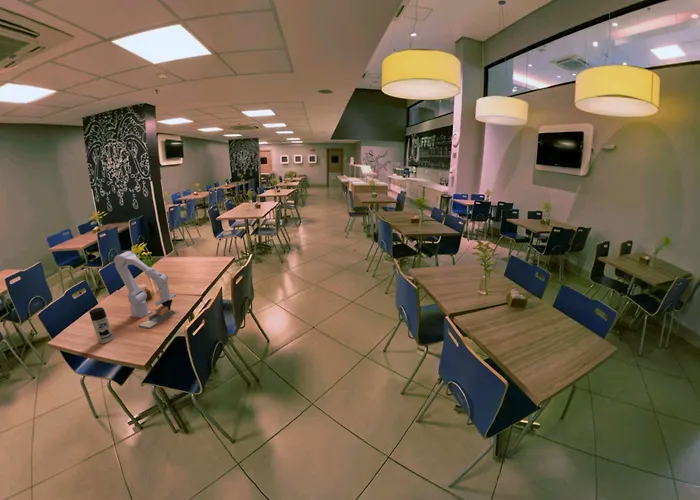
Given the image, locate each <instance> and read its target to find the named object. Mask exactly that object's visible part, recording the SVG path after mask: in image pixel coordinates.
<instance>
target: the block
mask: <svg viewBox="0 0 700 500" xmlns="http://www.w3.org/2000/svg"><path fill="white" fill-rule="evenodd" d="M167 312H169V310H168V307H167V306H163V305H159V306H157V307H156V308H155V313H156V314H157V317H160V316H162V315H164V314H165V313H167Z"/></svg>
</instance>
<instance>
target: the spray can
mask: <svg viewBox="0 0 700 500" xmlns="http://www.w3.org/2000/svg"><path fill="white" fill-rule="evenodd" d="M88 313H89V316H90V319H91V323H92V325H93V329H94V330H95V335H96V337H97V341H98V343H99V344H107V343H109V342H112V341H113V340H114V335H113V331H112V328H111V325H110V323H109V318H108V316H107V313H106V311H105V308H103V307H101V306H100V307H96V308H93V309H90V310H89V312H88Z"/></svg>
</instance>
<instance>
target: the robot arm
mask: <svg viewBox="0 0 700 500" xmlns="http://www.w3.org/2000/svg"><path fill="white" fill-rule="evenodd" d="M113 262H114V265H115V269H116V271H117V273H118V274H119V276H120V279H121V280H122V282H123V284H124V285H125V287H126V289H127V291H128V293H127V298H128V302H129V304H130V305H129V306H130V307H129V308H130V311H131V312H130V313H131V315H130V317H135V318H140V319H141V318H143V317H145V316H148V315H149V314H151V313H152V311H150V310H149V308H148V304H147V297H148V293H147V292H146V291H145V290H144V289H143V288H142V287H141V288H140V287H139V286H138V284H137V282H136V281H135V279H134V277H133V275H132V274H131V273H132V272H131V271H130V269H129V268H128V266H130V265H133V266H135V267H137V268H138V269H139V270H141V271H142V272H144V275H145V276H146V277H148V278H150V279H151V280H153V281H154V282H153V283H154V284H155V285H156V287H157V290H158V294H159V298H160V299H159V300H157V301H156V302H155V303H154V305H155V306H156V307H160V306H167V307H168V310H169V311H171V310H172V309H171V307H172V303H173V298H174V297H177V294H176V293H172V294H171V292H170V288H169V285H168V281H169V276H168V275H167V274H166V273H161V272H159V271H158V270H157V269H156V268H155V267H149V266H148V265H147V264H146V263H144V262H143V261H142V260H140V259H139V258H138V256H137V254H135V253H134V252H132V251H131V250H127V251H124V252H122V253H121V254H117V255H116V256H114V258H113Z"/></svg>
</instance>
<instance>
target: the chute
mask: <svg viewBox="0 0 700 500" xmlns="http://www.w3.org/2000/svg"><path fill="white" fill-rule="evenodd" d="M173 316H175V312H174V310H173V309H171V310H170V311H169V312H167V313H165V314H164V315H162V316H160V317H157V314H156V312H155V313H153V314H151V315H150V316H148V320H146V321H144V322H142V323H140V324H139V325H138V327H139V328H144V329H149V330H150V329H152V328H153V327H156V326H158V325H159V324H161V323H163V322H164V321H165V320H168V319H169V318H170V317H173Z"/></svg>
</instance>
